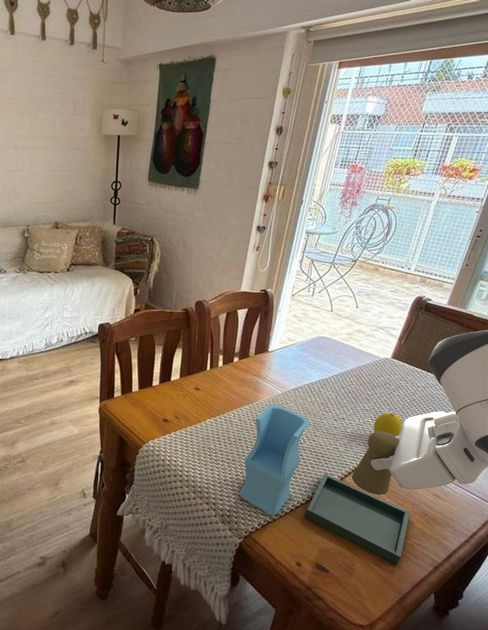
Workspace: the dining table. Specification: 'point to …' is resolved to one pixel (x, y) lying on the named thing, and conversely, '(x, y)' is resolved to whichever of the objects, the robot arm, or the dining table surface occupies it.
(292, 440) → the blue toy chair
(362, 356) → the dining table surface
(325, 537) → the dining table surface
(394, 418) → the lemon
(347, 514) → the spice tray
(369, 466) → the pepper mill
